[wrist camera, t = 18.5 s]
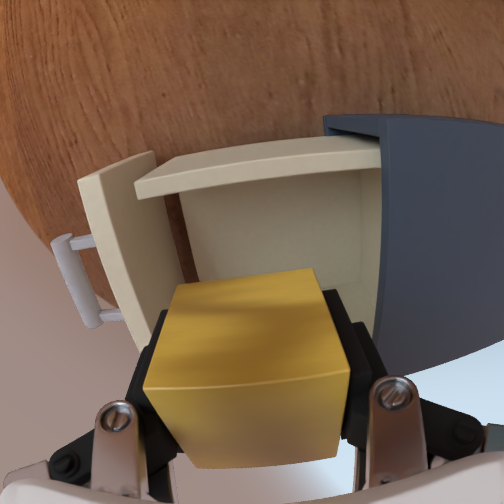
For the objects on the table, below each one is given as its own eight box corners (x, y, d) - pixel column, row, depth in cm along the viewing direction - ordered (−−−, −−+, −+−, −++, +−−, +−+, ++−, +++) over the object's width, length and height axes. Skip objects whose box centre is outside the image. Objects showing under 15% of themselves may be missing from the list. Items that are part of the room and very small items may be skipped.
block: (207, 374, 12) (195, 469, 8) (176, 283, 10) (140, 388, 6) (315, 362, 12) (337, 457, 7) (313, 266, 10) (351, 369, 6)
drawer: (125, 317, 23) (91, 386, 16) (76, 171, 18) (5, 205, 11) (363, 289, 22) (402, 358, 15) (361, 123, 17) (427, 132, 10)
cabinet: (332, 294, 23) (369, 385, 15) (322, 115, 18) (386, 117, 9) (478, 265, 23) (538, 322, 14) (491, 122, 17) (576, 143, 8)
